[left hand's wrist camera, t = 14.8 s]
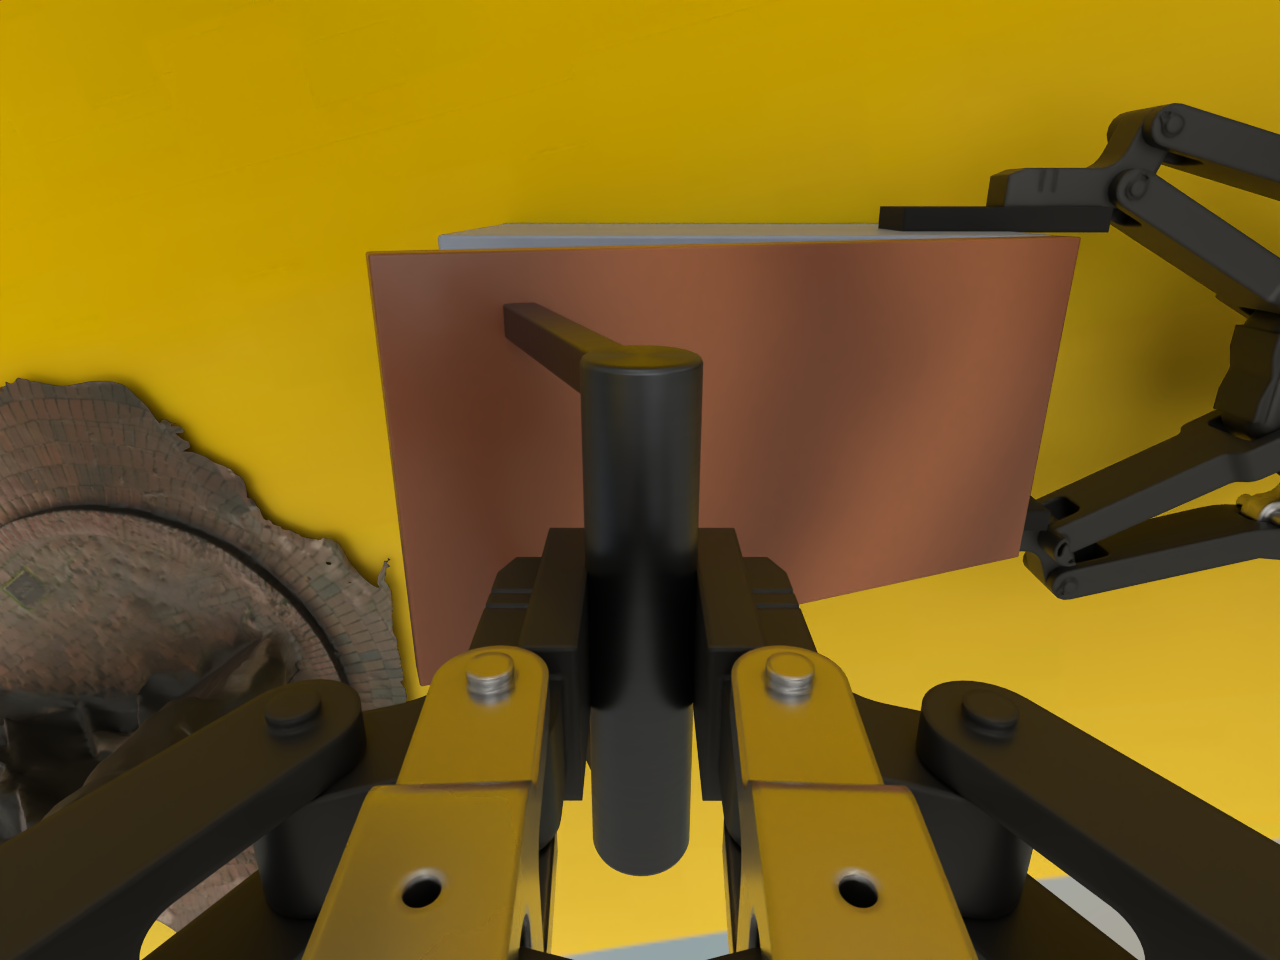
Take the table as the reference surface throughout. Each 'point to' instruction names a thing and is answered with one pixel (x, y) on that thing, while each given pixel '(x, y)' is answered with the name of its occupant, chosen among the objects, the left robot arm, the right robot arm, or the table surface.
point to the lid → (704, 445)
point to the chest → (680, 234)
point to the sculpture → (151, 604)
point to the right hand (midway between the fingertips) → (874, 372)
